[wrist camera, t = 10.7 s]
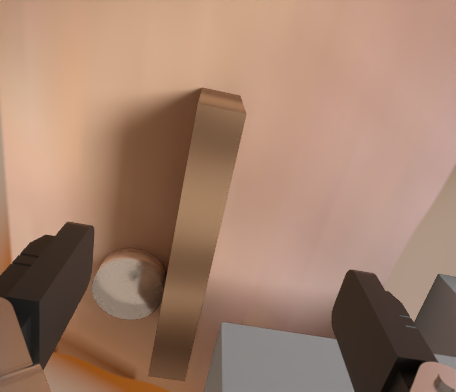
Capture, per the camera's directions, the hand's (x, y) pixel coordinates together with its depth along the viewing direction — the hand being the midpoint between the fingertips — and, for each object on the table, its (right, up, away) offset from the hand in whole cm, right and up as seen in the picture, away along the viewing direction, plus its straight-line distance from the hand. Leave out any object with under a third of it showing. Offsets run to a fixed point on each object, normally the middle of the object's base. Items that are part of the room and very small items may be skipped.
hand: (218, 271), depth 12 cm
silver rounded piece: (-7, -4, +17) cm, 19 cm away
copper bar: (-2, +1, +15) cm, 16 cm away
